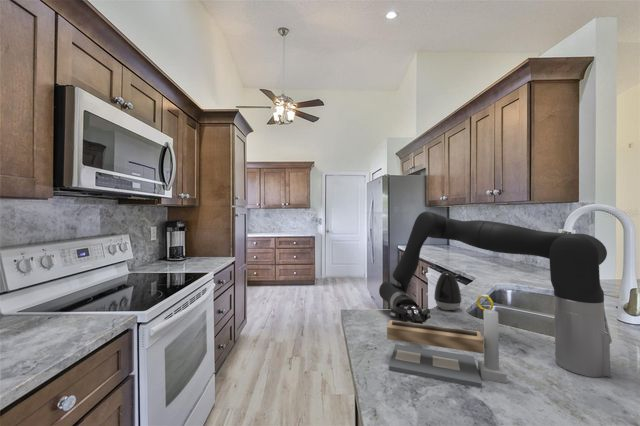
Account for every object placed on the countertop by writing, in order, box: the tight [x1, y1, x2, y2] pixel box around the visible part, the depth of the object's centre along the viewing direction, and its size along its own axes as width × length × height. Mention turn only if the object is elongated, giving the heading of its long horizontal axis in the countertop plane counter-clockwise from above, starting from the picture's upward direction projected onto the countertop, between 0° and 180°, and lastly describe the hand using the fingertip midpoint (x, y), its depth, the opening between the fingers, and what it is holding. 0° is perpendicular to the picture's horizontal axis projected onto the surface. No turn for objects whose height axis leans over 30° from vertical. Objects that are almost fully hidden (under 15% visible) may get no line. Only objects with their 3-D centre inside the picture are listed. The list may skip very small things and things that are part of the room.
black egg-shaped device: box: [433, 271, 462, 311], centre depth 116 cm, size 10×10×15 cm
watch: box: [476, 294, 494, 311], centre depth 114 cm, size 6×3×6 cm, turn 30°
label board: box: [388, 309, 508, 389], centre depth 70 cm, size 26×13×15 cm, turn 68°
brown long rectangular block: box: [386, 319, 484, 355], centre depth 71 cm, size 22×6×4 cm, turn 68°
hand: (419, 323), depth 79 cm, fingers closed
